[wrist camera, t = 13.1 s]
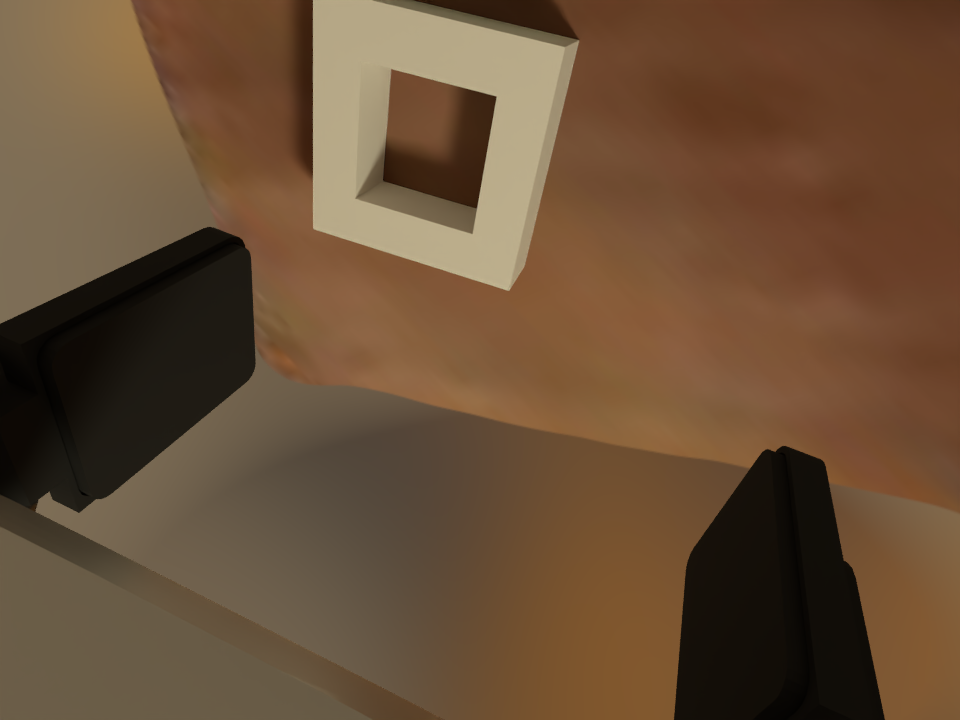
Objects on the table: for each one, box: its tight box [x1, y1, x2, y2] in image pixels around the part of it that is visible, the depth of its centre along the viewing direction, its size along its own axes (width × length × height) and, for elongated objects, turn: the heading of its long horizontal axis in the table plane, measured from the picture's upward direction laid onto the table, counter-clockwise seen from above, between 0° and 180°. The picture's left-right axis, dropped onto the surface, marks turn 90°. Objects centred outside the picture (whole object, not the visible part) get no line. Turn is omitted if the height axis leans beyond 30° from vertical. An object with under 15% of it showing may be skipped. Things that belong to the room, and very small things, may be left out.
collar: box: [313, 0, 579, 291], centre depth 35 cm, size 14×14×4 cm
